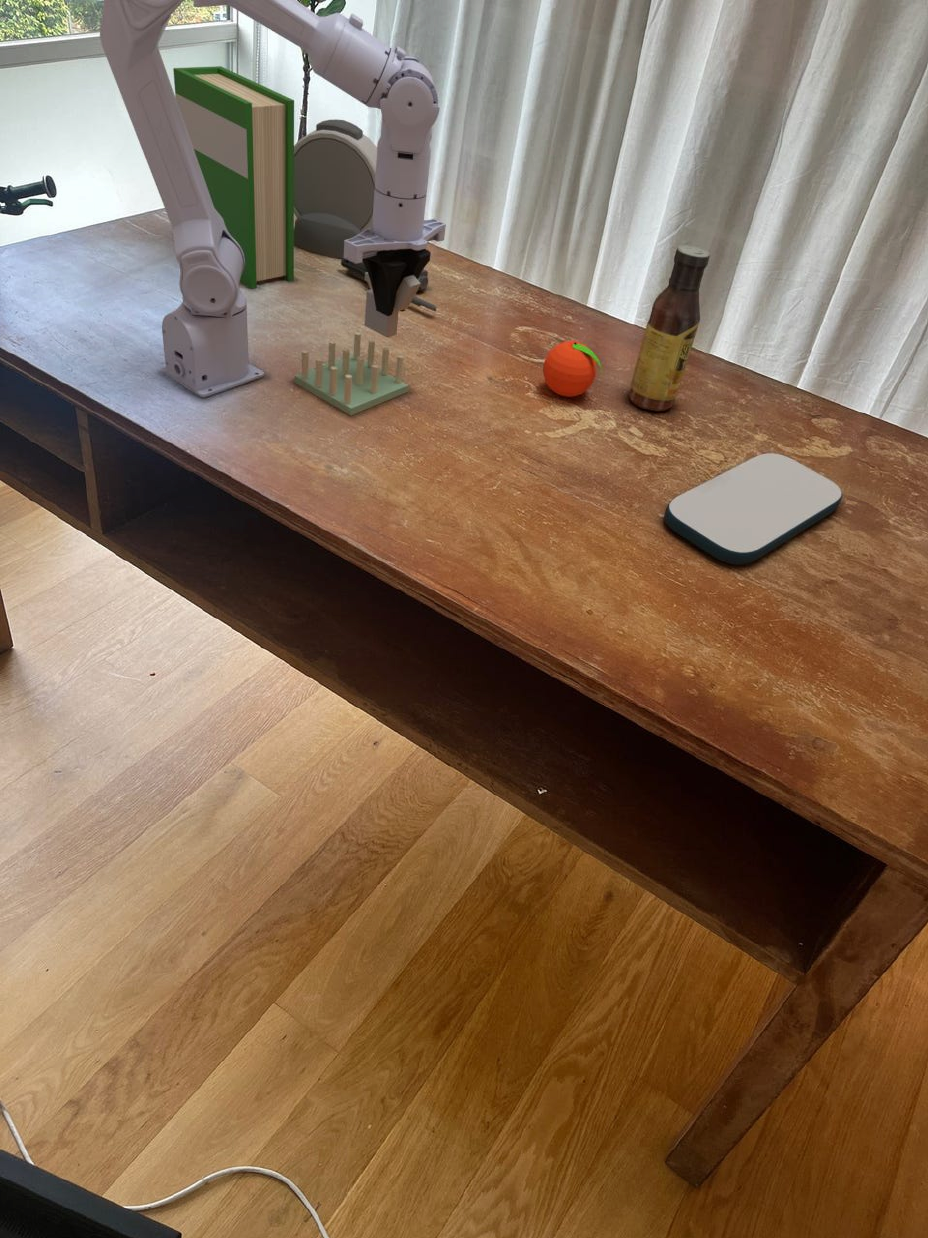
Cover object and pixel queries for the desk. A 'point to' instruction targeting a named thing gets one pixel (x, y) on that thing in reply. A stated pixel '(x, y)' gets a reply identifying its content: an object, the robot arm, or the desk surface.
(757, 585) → the desk surface
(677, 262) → the sauce bottle
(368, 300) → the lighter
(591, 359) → the clementine
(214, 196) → the hardback book
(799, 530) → the external hard drive
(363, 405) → the dish rack
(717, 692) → the desk surface
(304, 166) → the alarm clock
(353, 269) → the walkie-talkie
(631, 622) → the desk surface
